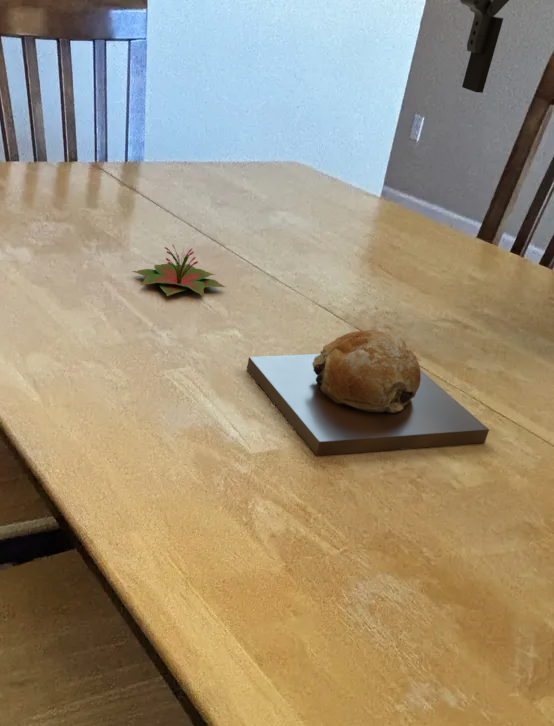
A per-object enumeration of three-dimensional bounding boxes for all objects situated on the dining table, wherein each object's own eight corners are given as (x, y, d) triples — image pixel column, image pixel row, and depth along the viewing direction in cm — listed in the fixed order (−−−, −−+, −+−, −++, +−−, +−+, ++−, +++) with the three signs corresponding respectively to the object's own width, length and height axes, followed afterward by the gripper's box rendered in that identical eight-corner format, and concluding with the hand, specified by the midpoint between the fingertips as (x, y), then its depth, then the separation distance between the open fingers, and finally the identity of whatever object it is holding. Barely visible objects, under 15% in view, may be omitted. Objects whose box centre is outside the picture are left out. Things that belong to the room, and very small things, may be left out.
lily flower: (242, 295, 111) (247, 259, 109) (162, 306, 106) (166, 269, 103) (191, 264, 119) (195, 230, 117) (115, 273, 114) (117, 238, 111)
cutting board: (395, 362, 98) (398, 350, 97) (484, 443, 85) (489, 429, 84) (246, 369, 94) (248, 356, 93) (316, 456, 80) (319, 441, 79)
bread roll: (354, 450, 85) (403, 397, 79) (285, 376, 88) (328, 318, 81) (404, 419, 92) (453, 368, 86) (338, 350, 94) (382, 295, 88)
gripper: (687, -152, 85) (602, 90, 97) (466, -184, 78) (405, 80, 90) (749, -154, 79) (650, 104, 91) (515, -188, 72) (443, 95, 85)
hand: (528, 93), depth 91 cm, fingers open, 13 cm apart
